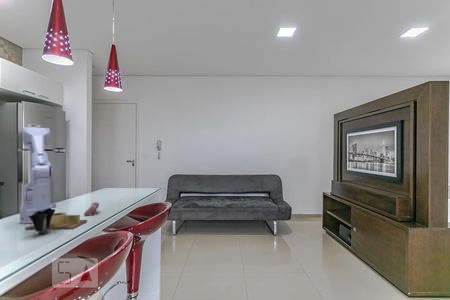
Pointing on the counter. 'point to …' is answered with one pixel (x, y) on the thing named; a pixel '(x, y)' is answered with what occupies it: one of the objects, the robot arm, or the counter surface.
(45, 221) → the hinge pin
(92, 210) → the mauve lumpy piece
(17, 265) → the counter surface
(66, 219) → the hinge
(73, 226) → the hinge board
